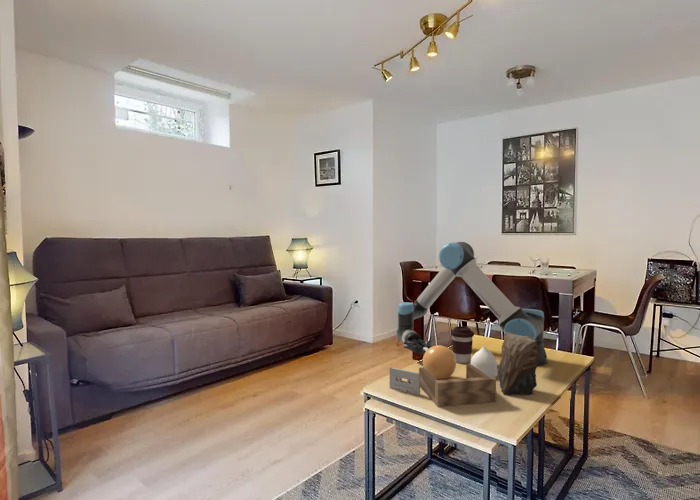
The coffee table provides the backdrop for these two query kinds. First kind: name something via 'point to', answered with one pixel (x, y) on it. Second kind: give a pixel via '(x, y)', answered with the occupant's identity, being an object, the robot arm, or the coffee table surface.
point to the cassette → (407, 385)
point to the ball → (439, 361)
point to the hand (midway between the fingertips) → (430, 354)
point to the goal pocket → (459, 388)
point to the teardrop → (485, 362)
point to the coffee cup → (462, 343)
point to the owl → (518, 365)
